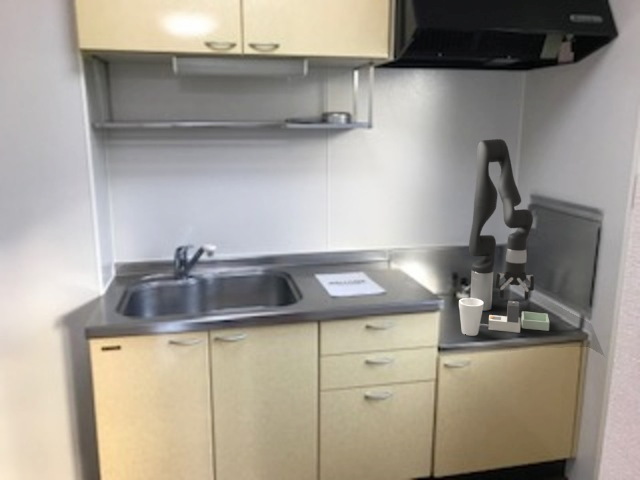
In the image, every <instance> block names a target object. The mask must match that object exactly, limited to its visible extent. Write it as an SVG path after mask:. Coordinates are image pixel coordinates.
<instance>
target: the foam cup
mask: <svg viewBox="0 0 640 480" xmlns="http://www.w3.org/2000/svg"><path fill="white" fill-rule="evenodd" d="M483 304H484V302H483V301H482V300H479V299H475V298H470V297H463V298H461V299H459V300H458V308H459V318H460V327H461V333H462V335H465V334H466V335H465V336H469V337H470V336H473V337H474V336H477V335H479V331H480V327H481V326H480V324H481V320H482V315H483V311H482V310H483Z"/></svg>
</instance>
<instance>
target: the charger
mask: <svg viewBox="0 0 640 480" xmlns="http://www.w3.org/2000/svg"><path fill="white" fill-rule="evenodd" d="M519 315H520V302H519V301H514V300H507V310H506V317H507V322H514V323H518V318H520V317H519Z"/></svg>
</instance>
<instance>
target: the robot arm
mask: <svg viewBox="0 0 640 480" xmlns="http://www.w3.org/2000/svg"><path fill="white" fill-rule="evenodd" d="M511 161H512V160H511V156H510V151H509V148H508V145H507V142H506V141H505V140H503V139H501V138H495V139H493V138H492V139H483V140H481V141H479V143H478V145H477V148H476V181H475V191H474V201H473V215H472V223H471V230H470V235H469V242H468V251H469V254H470V256H471V257H483V258H481V259H480V260H476V261H475V262H473V263H472V265H471V274H470V276H471V277H470V279H471V280H470V297H469V298H475V299H479V300H482V301H483V302H484V304H483V310H482V312H483V311H489V310H491V309H492V301H493V283H494V282H493V281H494V268H495V260H496V249H497V240H496V238H495V236H494V235H492V234H483V235H482V234H481V233H482V230H483V228H484V226H485V224H486V223H487V222H488V221H489V219H490V218H491V217H492V216H493V214H494V213H495V211H496V208H497V203H498V194H499V197H500V199H501V203H502V209H503V222H504V224H505V225H506V227H508V228H509V229H516V230H515V231H514V232H512V233H510V234H508V235H507V247H506V253H505V270H504V271H505V272H504V273H500V272H496V277H495V278H496V279H495V288H496V289H499V297H500V298H501V299H502V300H503V299H504V297H505V296H504V295H505V288H506V287H507V286H508V285H510V286H514V285H515V286H517V287H518V286H521V287H522V289H524V296H523V301H527V300H528V299H529V293H530V292H533V291H535V286H534V285H535V283H534V281H535V279H534V274H529V275H528V274H526V271H527V260H528V259H527V255H528V254H527V245H528V244H527V242H528V237H529V235H530V232H531V229H532V226H533V221H534V216H533V214H532V212H531V210H529V209H526V208H525V209H523V208H522V209H515V207H517V206H519V205H520V204H521V203H522V198H521V194H520V192H519V189H518V187H517V185H516V181H515V178H514V177H515V176H514V173H513V166H512V162H511ZM490 163H498V164H499V166H500V175H499V179H498V184H497V188H496V186H495V184H494V182H493V181H492V179H491V176H490V173H489V172H490V171H489V167H490ZM503 278H504V279H505V280H504V281H503V283H502V284H500V280H501V279H503ZM526 279H527V280H528V281H529V286H527V284H526V283H525V280H526Z"/></svg>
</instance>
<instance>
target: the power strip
mask: <svg viewBox="0 0 640 480" xmlns="http://www.w3.org/2000/svg"><path fill="white" fill-rule="evenodd" d="M521 325H522V322H521V317H519V318H518V323H514V322H507V315H504V316H503V315H496V314H495V315H494V314H493V315H492V314H489V316H488V324H487V323H486V324H485V323H480V326H479V327H483V328H487V329H488V330H490V331H498V332H500V331H501V332H508V333H517V334H519V333H521Z"/></svg>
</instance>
